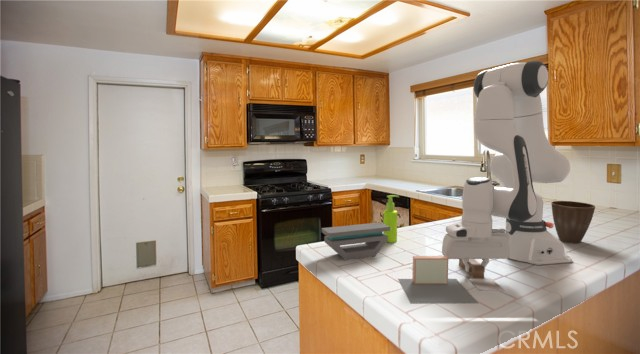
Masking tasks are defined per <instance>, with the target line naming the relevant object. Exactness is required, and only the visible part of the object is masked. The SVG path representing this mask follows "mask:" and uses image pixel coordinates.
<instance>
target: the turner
mask: <svg viewBox="0 0 640 354" xmlns="http://www.w3.org/2000/svg"><path fill="white" fill-rule="evenodd" d="M458 260H459V261H458V264H459V266H460V267H462V269H463V270H465V265H464V263H463V261H462V259H458ZM467 263H468V265H470V266H471V267H472V272H467V274H469V275H470V276H471V277H472V278H468V279H467V280H468V281H469V282H470V283H472V285H473V286H474V287H475V288H476V289H477V290H478V291H480V292H484V291H485V292H489V291H490V292H491V291H492V292H493V291H495V292H496V291H497V292H498V291H501V292H503V291H506V289H504V288H503V287H502V286H501V285H500V284H499V283H498V282H496V281H495V280H494V279H492V278H489V277H488V278H487V277H486V278H485V272H484V266H482V265H481V263H480V262H478V261H477V259H469V262H467Z"/></svg>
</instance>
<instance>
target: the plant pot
mask: <svg viewBox="0 0 640 354" xmlns="http://www.w3.org/2000/svg"><path fill="white" fill-rule="evenodd" d="M595 210H596V205H594V204H591V203H587V202H581V201H572V200H555V201H551V212H552V219H553V224H554V228H555V231H556V234H557V238H558V239H559V240H560V241H561V242H565V243H568V244H580V243H581V242H582V240H583V239H584V237H585V235H586V234H587V231H588V229H589V228H590V225H591V222H592V220H593V217H594V214H595Z"/></svg>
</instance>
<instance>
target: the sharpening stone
mask: <svg viewBox="0 0 640 354" xmlns="http://www.w3.org/2000/svg"><path fill="white" fill-rule="evenodd" d="M384 231H390V227H389V226H387V225H385V224H383V222H380V221H378V222H370V223H360V224H359V223H358V224H351V225H350V224H349V225H341V226H329V227H321V233H322V234H323V235H324V243H325V244H326V245H327V246H328V247H330V248H331V249H332V250H333V251H334V252H335V253H336V254H338V255H339V256H340V257H342V258H343V260H345V261H353V260H360V259H366V258H367V259H368V258H373V257H376V255H377V254H378V253H379V252H380V250H381V249H383V247H384V246H385V245H386V244H387V243H388V242H387V235H385V234H383V232H384Z"/></svg>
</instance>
